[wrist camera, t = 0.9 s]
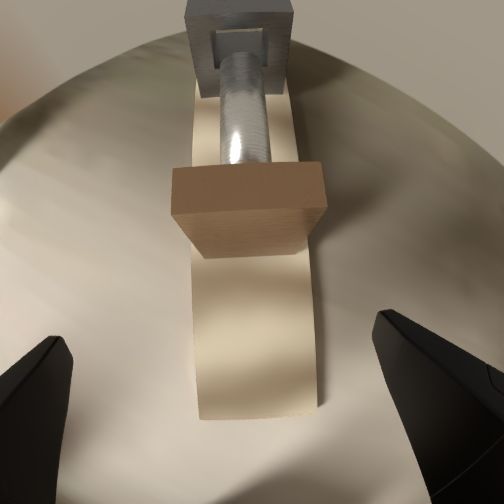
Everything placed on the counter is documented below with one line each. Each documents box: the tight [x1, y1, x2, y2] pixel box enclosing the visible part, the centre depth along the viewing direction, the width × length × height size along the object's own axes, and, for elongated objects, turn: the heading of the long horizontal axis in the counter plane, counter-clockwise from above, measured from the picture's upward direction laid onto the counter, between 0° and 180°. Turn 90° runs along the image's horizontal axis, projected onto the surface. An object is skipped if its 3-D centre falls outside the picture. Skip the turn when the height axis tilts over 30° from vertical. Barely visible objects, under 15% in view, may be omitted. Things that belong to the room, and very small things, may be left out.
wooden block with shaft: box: [171, 52, 328, 259], centre depth 17 cm, size 12×6×9 cm, turn 3°
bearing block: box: [184, 0, 294, 98], centre depth 20 cm, size 5×7×9 cm
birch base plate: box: [191, 76, 317, 420], centre depth 22 cm, size 30×8×1 cm, turn 3°
